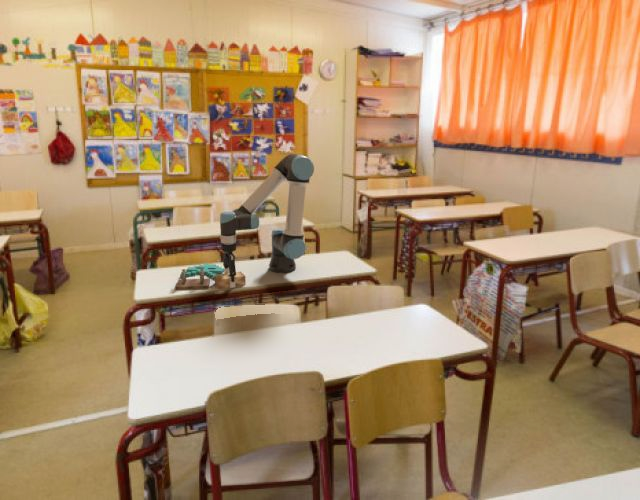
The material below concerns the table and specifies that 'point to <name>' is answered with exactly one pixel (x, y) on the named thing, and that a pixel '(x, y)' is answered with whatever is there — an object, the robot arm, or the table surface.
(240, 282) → the light brown wooden block
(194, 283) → the peg stand
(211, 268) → the alien figure
